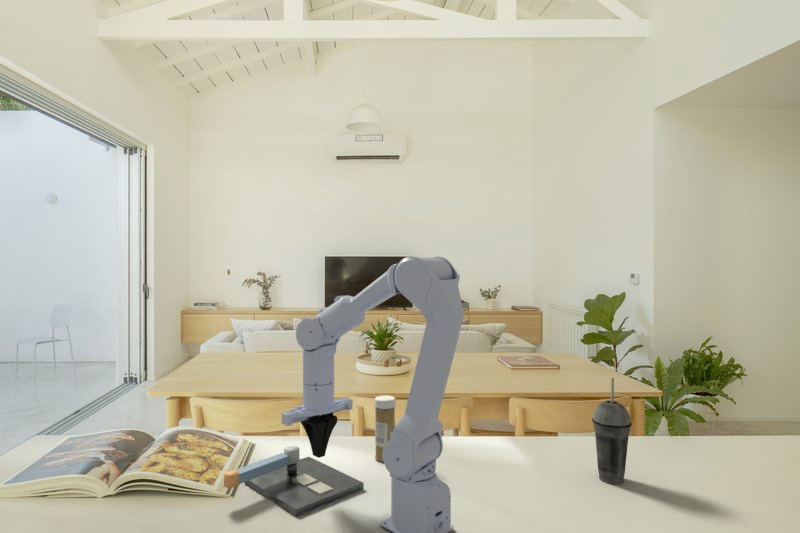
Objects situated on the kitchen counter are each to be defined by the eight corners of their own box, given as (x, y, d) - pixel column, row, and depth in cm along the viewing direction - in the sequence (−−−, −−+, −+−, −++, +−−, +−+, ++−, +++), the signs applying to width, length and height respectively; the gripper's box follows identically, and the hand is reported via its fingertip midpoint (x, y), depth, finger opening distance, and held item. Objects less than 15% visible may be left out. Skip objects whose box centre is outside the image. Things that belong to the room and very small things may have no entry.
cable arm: (229, 489, 89) (229, 475, 89) (220, 484, 91) (220, 470, 91) (302, 461, 102) (302, 448, 102) (292, 457, 104) (292, 445, 104)
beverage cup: (589, 482, 101) (590, 380, 101) (594, 469, 107) (594, 373, 107) (629, 490, 97) (630, 385, 97) (632, 476, 104) (633, 377, 104)
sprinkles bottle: (399, 460, 112) (399, 398, 112) (381, 464, 109) (381, 401, 109) (388, 453, 116) (388, 393, 116) (370, 457, 113) (370, 396, 113)
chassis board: (363, 489, 98) (363, 471, 98) (296, 516, 87) (295, 496, 87) (308, 462, 111) (308, 446, 111) (244, 483, 100) (244, 465, 100)
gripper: (336, 372, 103) (336, 440, 103) (272, 385, 93) (272, 460, 93) (359, 378, 98) (359, 449, 98) (294, 392, 88) (294, 471, 88)
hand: (318, 455), depth 95 cm, fingers closed
